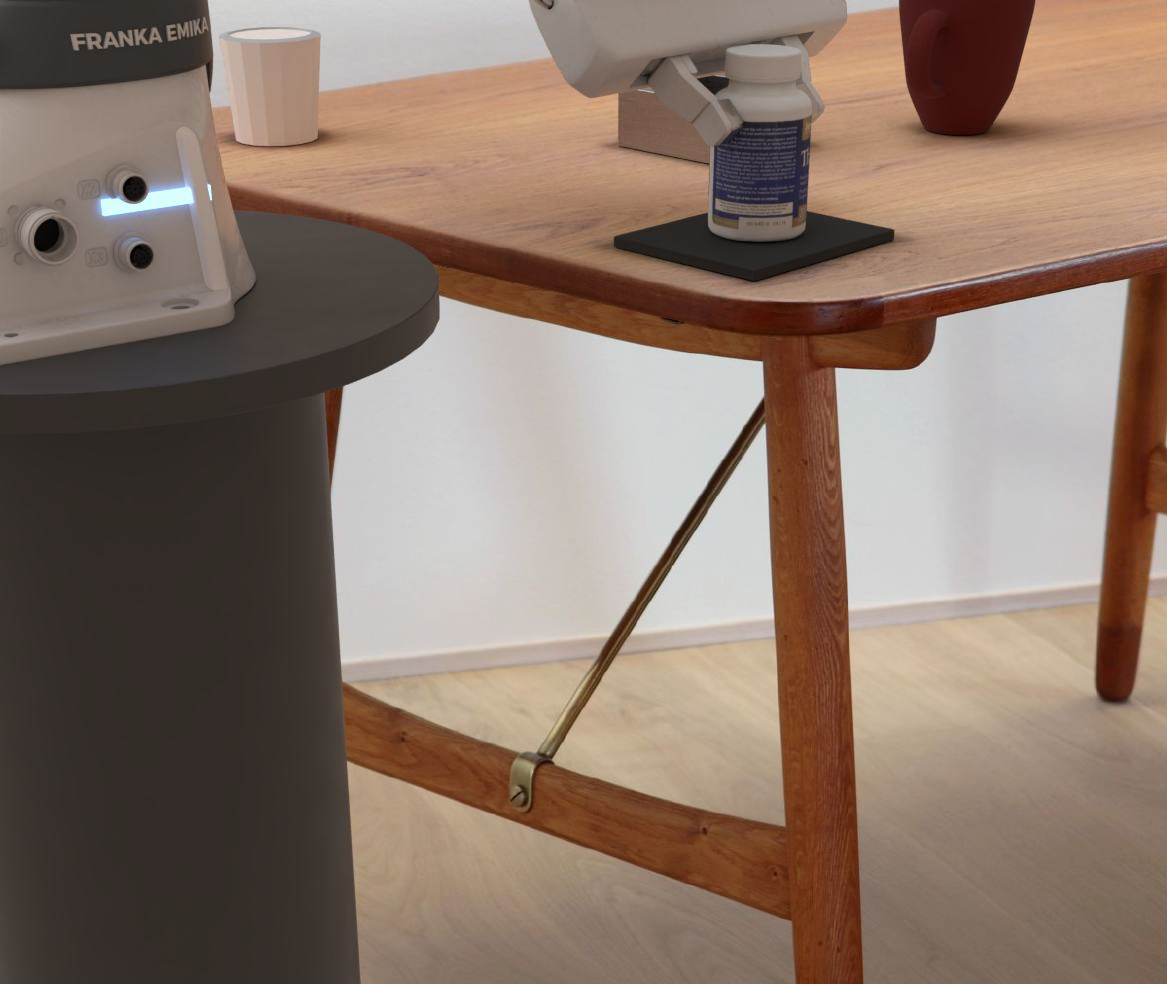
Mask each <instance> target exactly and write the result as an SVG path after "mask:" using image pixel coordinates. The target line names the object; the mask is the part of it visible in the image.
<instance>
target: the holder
mask: <svg viewBox="0 0 1167 984" xmlns="http://www.w3.org/2000/svg"><path fill="white" fill-rule="evenodd" d="M697 80H698V81H699V82H700V83H701V84H702V85H704V86H705V87H706V88H707V89H708V90H709V91H710V92H711V93H712V94H713V95H714V96H715V95H716V93H717V92H719V91H720V90H722V89H724V88H726V87H728V85H729V78H727V77H726V76H725V73H724V74H719V75H713V76H708V77H703V78H697ZM617 95H618V96H617V97H618V99H617V100H618V101H617V106H618V107H617V109H618V110H617V128H618V129H617V146H619V147H622V148H628V149H633V150H637V151H642V152H648V153H653V154H657V155H662V156H668V157H672V158H678V159H683V160H688V161H691V162H692V161H693V162H698V163H702V164H708V165H709V160H710V147H709V146H707V145H706V144H705V142H704V140H703V139H702V137H701V136H700V134H699V133H698V131H697V130H696V128H695V127H694V125H693V123H690V122H688V121H687V120H685V119H684V118H682V117H681V116H680V115H678V114H677V113H675V112H674V111H673V110H671V109H670V108H668V107H667V106H666V105H664V104H663V103H661V102H660V101H659V99H658V98H657V96H656V94H655V93H654V91H653V90H652V88H651V87H650V88H644V89H639V90H634V91H628V92H623V93H618V94H617Z"/></svg>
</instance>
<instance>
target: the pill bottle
mask: <svg viewBox="0 0 1167 984" xmlns="http://www.w3.org/2000/svg"><path fill="white" fill-rule="evenodd" d="M724 72H725V76H726V77H727V78H729V85H728V87H726V88H724V89H722V90H720V91H719V92H717V93H716V95H715V96H716V97H717V98H718V99H719V100H723V99H730V101H731V102H732V104H733V105H734V107H735V108H736V113H737V114H739V115H740V116H741V118H742V120H743V124H744V127H743V130H742V131H741V132H740V133H739V134H738V135H737V136H735V139H734V140H733V141H732V142H731V143H726V144H722V145H718V146H713V147H710V160H709V164H708V193H707V194H708V195H707V197H708V199H707V213H708V226H709V229H710V230H711V231H712V232H713V233H714V234H716V235H718V236H720V237H723V238H726V239H730V240H737V241H751V242H770V241H781V240H788V239H792V238H795V237H797V236H799V235H800V234H802V233H803V232H804V230H805V226H806V216H807V211H808V194H809V176H810V159H811V140H812V124H811V123H812V103H811V100H810V98H809V97H808V95H807V94H806V93H805V92H803V91H801V90H799V89H797V88H796V80H797V79H799V78H800V73H801V50H800V49H798V48H794V47H789V46H782V45H767V44H749V45H738V46H732V47H729V48H727V49H726V56H725V67H724Z"/></svg>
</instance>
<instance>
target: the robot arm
mask: <svg viewBox="0 0 1167 984" xmlns="http://www.w3.org/2000/svg"><path fill="white" fill-rule="evenodd" d="M528 5H529V8H530V11H531V14H532V17H533V19H534V21H535V24H536V26H537V29H538V30H539V33H540V35H541V37H542V39H543V41H544V43H545V46H546V47H547V49H548V51H549V54H550V55H551V57H552V59H553V61H554V63H555V65H556V66H557V68H558V70H559V73H560V74H561V75H562V77H563V79H564V81H565V82H566V83H567V84H568V85H569V86H570V87H571V88H573V89H574V90H575V91H577V92H578V93H579V94H581V95H582V96H584V97H586V98H588V99H596V98H601V97H606V96H611V95H616V94H617V95H618V93H623V92H628V91H634V90H639V89H644V88H650V87H651V88H652V90H653V91H654V93H655V94H656V96H657V98H658V99H659V101H660V102H661V103H663V104H664V105H666V106H667V107H668V108H670V109H671V110H673V111H674V112H675V113H677V114H678V115H680V116H681V117H682V118H684V119H685V120H687V121H688V122H690V123H693V125H694V127H695V128H696V130H697V131H698V133H699V134H700V136H701V137H702V139H703V140H704V142H705V144H706V145H707V146H709V147H713V146H718V145H722V144H726V143H731V142H732V141H733V140H734V139H735V136H737V135H738V134H739V133H740V132H741V131H742V130H743V127H744V124H743V120H742V118H741V116H740V115H739V114H737V113H736V108H735V107H734V105H733V104H732V102H731V101H730V99H723V100H719V99H718V98H717V97H716V96H714V95H713V94H712V93H711V92H710V91H709V90H708V89H707V88H706V87H705V86H704V85H702V84H701V83H700V82H699V81H698V80H697V78H703V77H708V76H713V75H719V74H724V73H725V72H724V67H725V56H726V49H727V48H729V47H732V46H738V45H749V44H767V45H782V46H789V47H794V48H798V49H800V50H801V73H800V78H799V79H797V80H796V88H797V89H799V90H801V91H803V92H805V93H806V94H807V95H808V97H809V98H810V100H811V103H812V123H811V125H813V124H814V123H815V122H816V121H817V119H819V118H820V117H821V115H822V114H823V113H824V112H825V107H826V106H825V103H824V101H823V99H822V98H821V96H820V94H819V93H818V91H817V89H816V88H815V86H814V85H813V84H812V73H811V64H810V58H813V57H815V56H817V55H819V53H821V52H822V51H823V50H824V49H825V47H827V46H828V44H830V42H831V41H832V40H833V39H834V38H835V37H836V36H837V35H838V34H839V33H840V31H841V30H842V29H843V28H844V26H845V25H846V23H847V21H848V5H847V1H846V0H528ZM211 25H212V24H211V16H210V9H209V0H0V365H5V364H11V363H17V362H22V361H28V360H34V359H39V358H45V357H50V356H56V355H62V354H67V353H73V352H79V351H84V350H90V349H95V348H101V347H107V346H112V345H118V344H124V343H129V342H135V341H141V340H146V339H152V338H157V337H163V336H169V335H174V334H180V333H186V332H191V331H197V330H202V329H208V328H214V327H219V326H222V325H226V324H228V323H230V322H231V321H232V320H233V319H234V317H235V309H234V304H235V302H236V301H237V300H238V299H239V298H241V297H242V296H243V295H244V294H246V293H247V292H248V291H249V290H250V289H251V288H252V287H253V286H254V284H255V282H256V274H255V271H254V269H253V266H252V264H251V262H250V259H249V257H248V254H247V251H246V248H245V246H244V243H243V240H242V237H241V234H240V231H239V228H238V224H237V221H236V218H235V214H234V211H233V210H234V208H233V207H234V206H233V204H232V199H231V195H230V191H229V188H228V183H227V179H226V175H225V170H224V165H223V161H222V156H221V152H220V147H219V141H218V136H217V131H216V126H215V125H216V124H215V120H214V113H213V107H212V101H211V93H212V92H211V91H212V83H213V72H214V47H213V36H212V26H211Z"/></svg>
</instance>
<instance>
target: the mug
mask: <svg viewBox="0 0 1167 984" xmlns="http://www.w3.org/2000/svg"><path fill="white" fill-rule="evenodd" d="M1035 6H1036V0H898V15H899V24H900V26H899V27H900V35H901V45H902V55H903V66H904V75H905V82H906V83H905V84H906V87H907V91H908V95H909V96H910V97H909V98H910V99H911V103H912V104H913V106H914V109H915V111H916V113H917V116H918V118H919V120H920V123H921V125H922V127H923V128H924V129H925V130H926V131H927V132H930V133H934V134H940V135H941V134H942V135H949V136H950V135H951V136H971V135H972V136H974V135H980V134H985V133H987V132H988V131H989V130H990V129H991V128H992V126H993V124H994V123H995V121H996V119H997V118H998V116H999V115H1000V113H1001V112H1002V110H1003V108H1004V107H1005V105H1006V103H1007V102H1008V100H1009V98H1010V96H1011V94H1012V92H1013V89H1014V87H1015V83H1016V81H1017V78H1018V73H1019V69H1020V66H1021V62H1022V58H1023V53H1024V51H1025V47H1026V43H1027V39H1028V36H1029V32H1030V29H1031V28H1030V27H1031V24H1032V20H1033V17H1034V11H1035Z"/></svg>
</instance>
